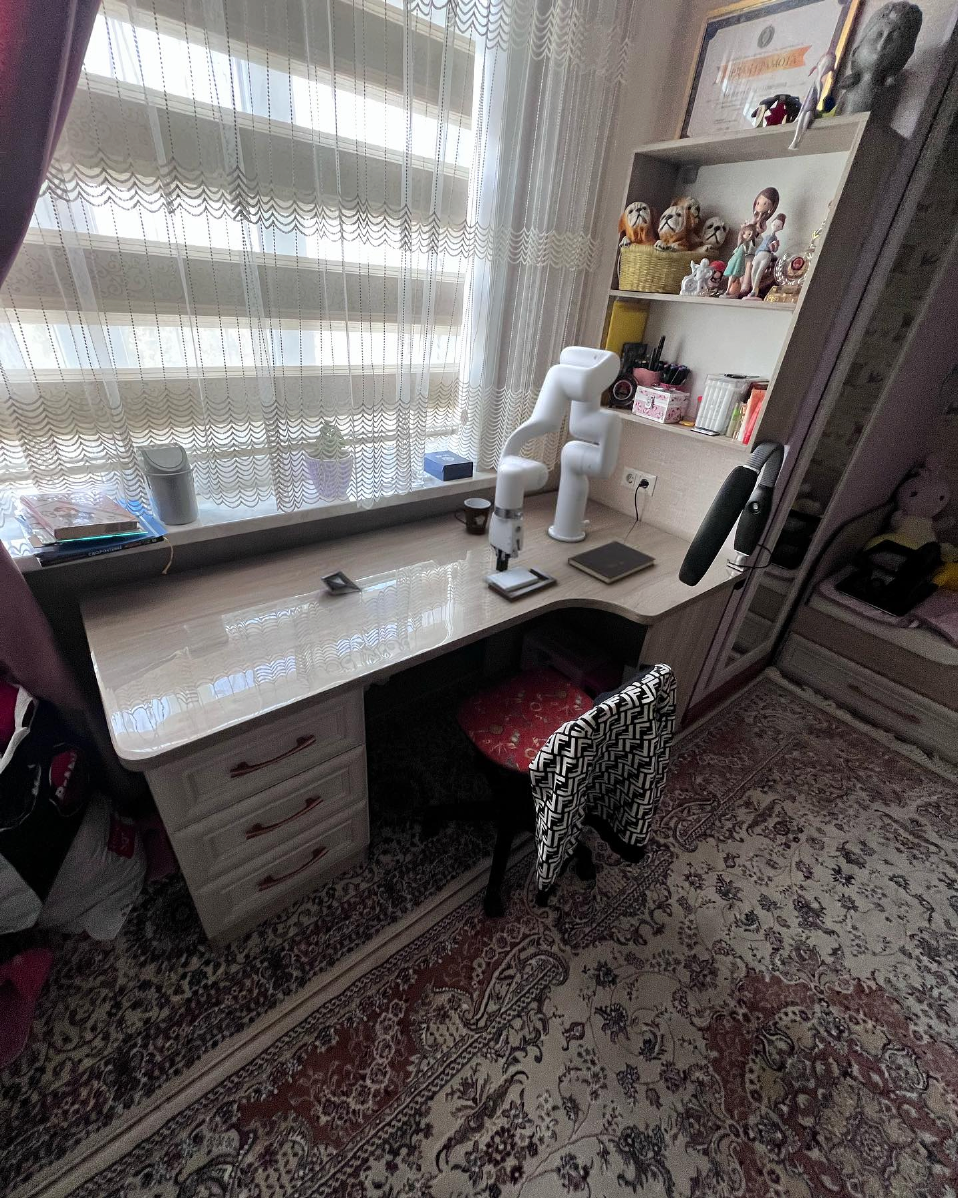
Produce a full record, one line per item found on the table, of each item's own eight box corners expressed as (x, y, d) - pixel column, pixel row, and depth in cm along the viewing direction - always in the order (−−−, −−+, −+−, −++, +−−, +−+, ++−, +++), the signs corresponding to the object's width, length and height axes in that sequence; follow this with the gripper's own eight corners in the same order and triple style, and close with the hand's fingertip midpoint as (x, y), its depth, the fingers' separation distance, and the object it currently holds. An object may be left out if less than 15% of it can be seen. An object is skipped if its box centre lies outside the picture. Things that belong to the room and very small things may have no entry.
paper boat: (351, 575, 145) (371, 579, 139) (345, 597, 145) (365, 602, 139) (313, 563, 136) (333, 567, 130) (307, 587, 136) (326, 592, 130)
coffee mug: (489, 527, 183) (491, 499, 178) (487, 537, 176) (489, 509, 170) (456, 523, 184) (457, 496, 178) (452, 533, 176) (453, 505, 171)
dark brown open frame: (533, 571, 157) (534, 566, 156) (556, 584, 151) (557, 579, 151) (487, 588, 147) (488, 583, 146) (510, 602, 141) (511, 597, 140)
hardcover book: (653, 565, 166) (655, 558, 165) (608, 585, 153) (610, 578, 152) (613, 546, 176) (614, 540, 175) (567, 563, 163) (568, 556, 162)
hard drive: (519, 565, 156) (486, 575, 149) (538, 577, 151) (504, 588, 144) (518, 570, 157) (485, 580, 150) (537, 582, 151) (503, 593, 145)
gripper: (536, 517, 142) (528, 577, 151) (500, 499, 151) (494, 557, 161) (516, 522, 137) (509, 584, 147) (479, 504, 147) (475, 563, 156)
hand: (501, 569), depth 154 cm, fingers closed
